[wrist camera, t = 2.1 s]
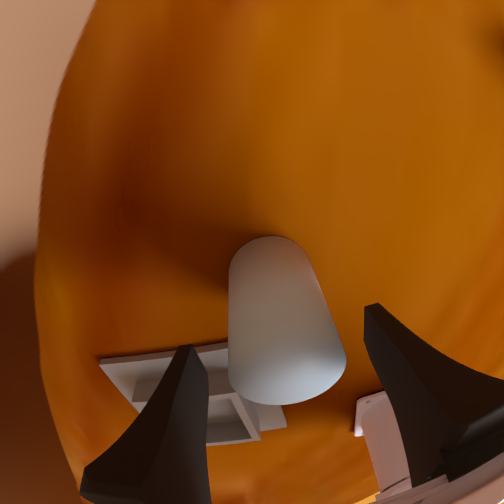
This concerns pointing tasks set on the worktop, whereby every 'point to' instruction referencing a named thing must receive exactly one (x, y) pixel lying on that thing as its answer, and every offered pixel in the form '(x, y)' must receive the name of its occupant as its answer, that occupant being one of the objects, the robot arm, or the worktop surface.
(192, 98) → the worktop surface
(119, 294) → the worktop surface
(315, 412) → the worktop surface
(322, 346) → the cylinder
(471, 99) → the worktop surface
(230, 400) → the grey square tray
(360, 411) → the robot arm
